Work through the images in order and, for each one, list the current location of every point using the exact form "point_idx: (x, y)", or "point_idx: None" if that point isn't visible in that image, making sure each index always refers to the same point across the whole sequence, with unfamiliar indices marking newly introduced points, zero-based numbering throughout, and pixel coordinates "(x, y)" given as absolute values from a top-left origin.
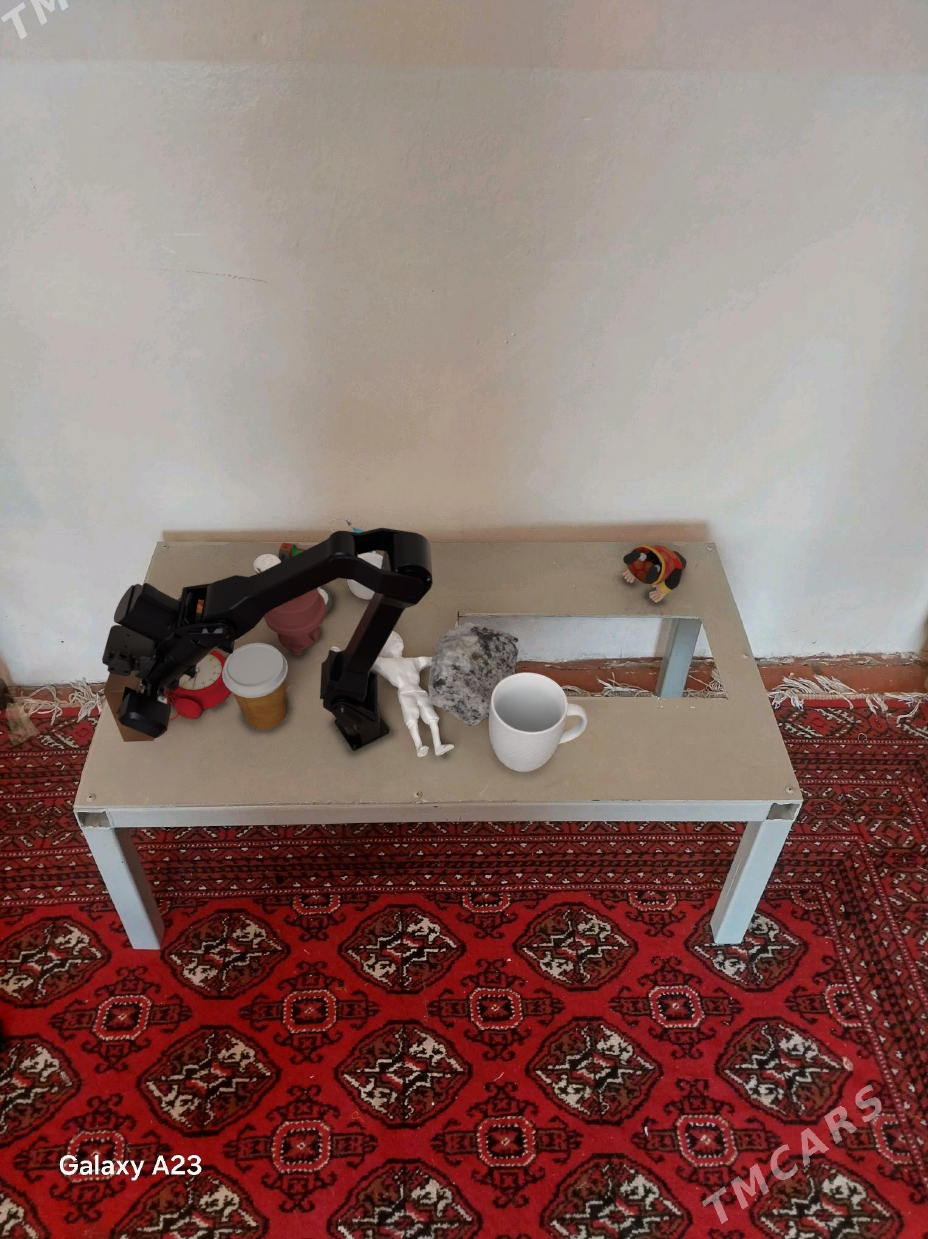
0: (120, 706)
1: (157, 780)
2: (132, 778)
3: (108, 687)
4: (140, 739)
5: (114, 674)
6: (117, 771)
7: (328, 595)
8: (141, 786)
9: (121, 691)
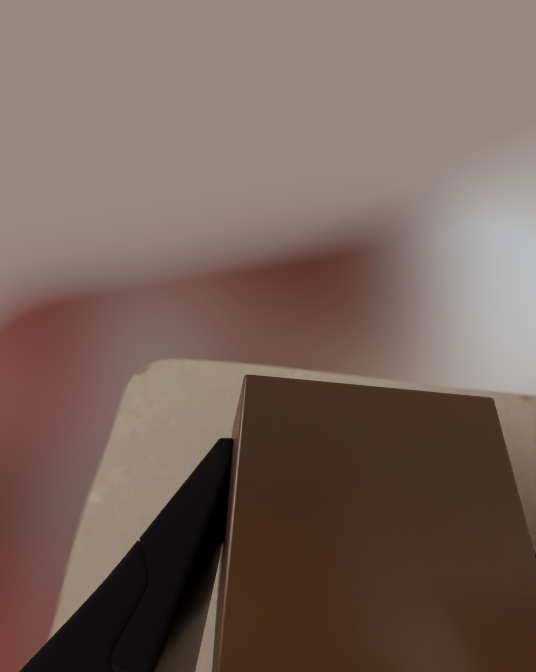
0: (219, 476)
1: (145, 518)
2: (167, 448)
3: (290, 413)
4: None
5: (443, 439)
6: (195, 409)
7: None
8: (138, 475)
9: (226, 567)
